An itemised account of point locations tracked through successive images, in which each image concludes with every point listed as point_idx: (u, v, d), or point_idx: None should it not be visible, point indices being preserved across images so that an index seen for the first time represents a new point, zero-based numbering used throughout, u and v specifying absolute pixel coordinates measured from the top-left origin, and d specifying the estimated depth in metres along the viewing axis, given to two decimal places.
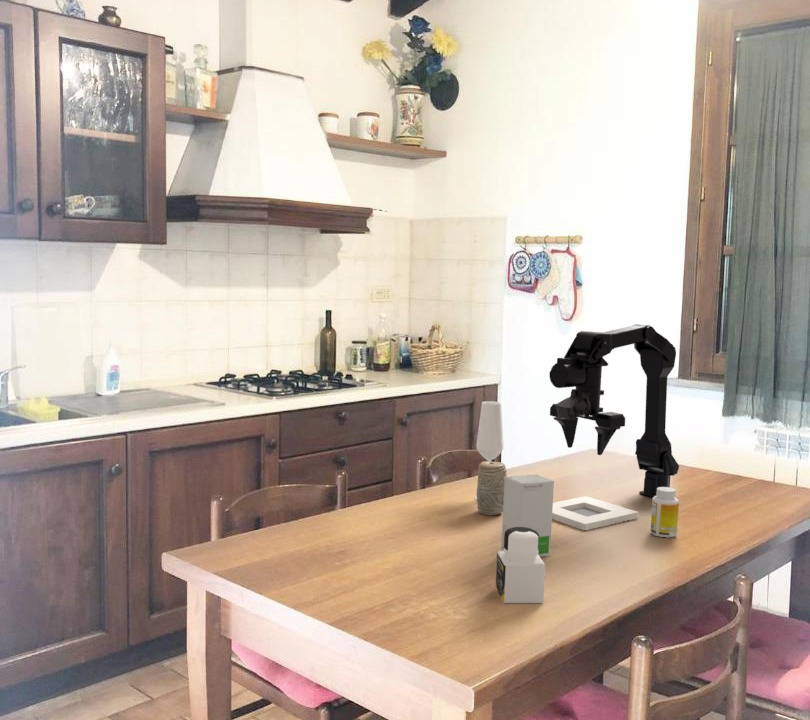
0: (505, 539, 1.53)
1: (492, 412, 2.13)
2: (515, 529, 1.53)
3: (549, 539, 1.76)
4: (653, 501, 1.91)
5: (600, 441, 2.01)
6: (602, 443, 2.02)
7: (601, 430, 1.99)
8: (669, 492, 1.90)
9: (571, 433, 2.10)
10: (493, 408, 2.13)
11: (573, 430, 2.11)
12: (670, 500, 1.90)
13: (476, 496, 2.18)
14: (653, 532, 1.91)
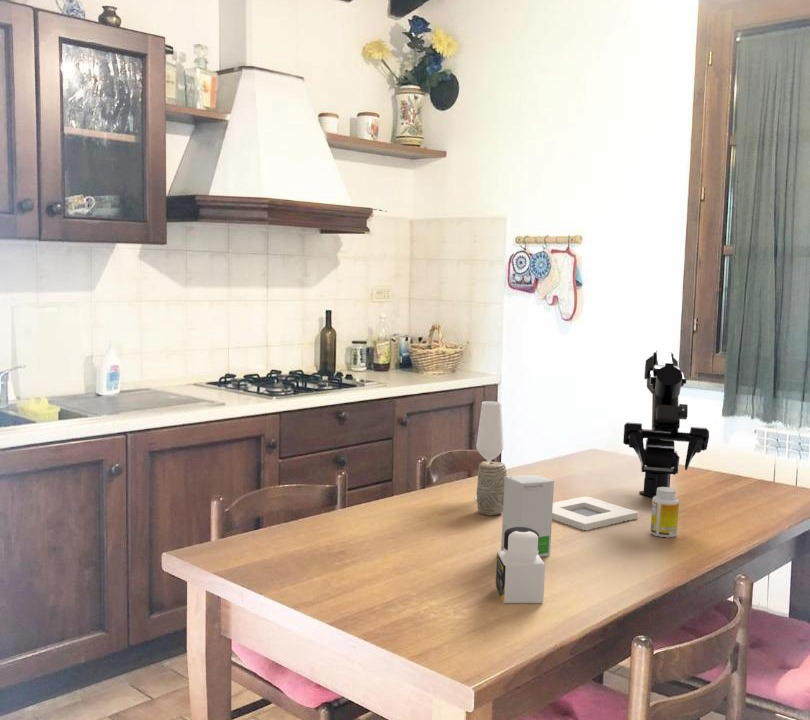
0: (505, 539, 1.53)
1: (492, 412, 2.13)
2: (515, 529, 1.53)
3: (549, 539, 1.76)
4: (653, 501, 1.91)
5: (691, 453, 1.98)
6: (691, 457, 1.98)
7: (697, 439, 1.98)
8: (669, 492, 1.90)
9: None
10: (493, 408, 2.13)
11: None
12: (670, 500, 1.90)
13: (476, 496, 2.18)
14: (653, 532, 1.91)
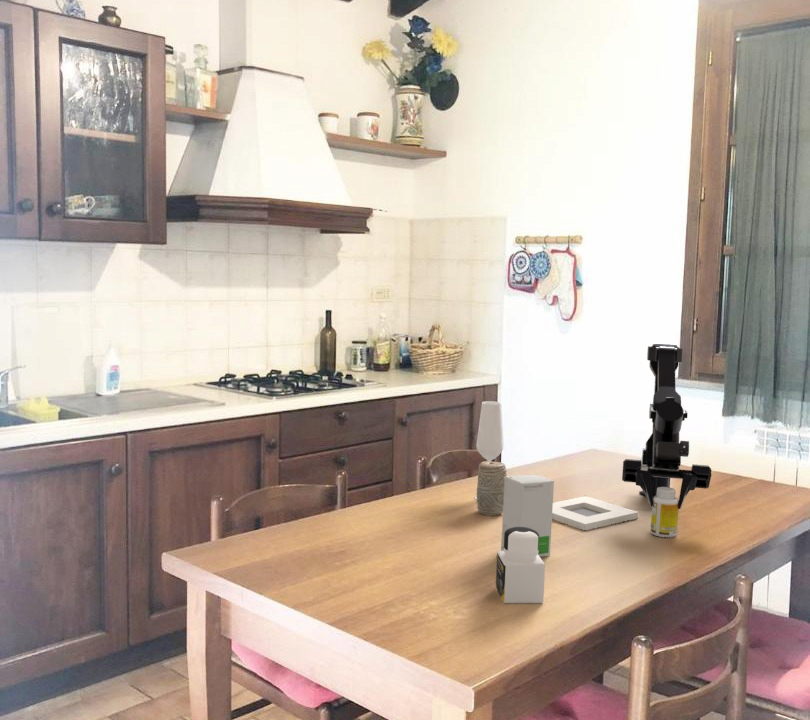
0: (505, 539, 1.53)
1: (492, 412, 2.13)
2: (515, 529, 1.53)
3: (549, 539, 1.76)
4: (653, 501, 1.91)
5: (684, 492, 1.91)
6: (684, 495, 1.91)
7: (691, 477, 1.91)
8: (669, 492, 1.89)
9: None
10: (493, 408, 2.13)
11: None
12: (670, 500, 1.90)
13: (476, 496, 2.18)
14: (653, 532, 1.91)
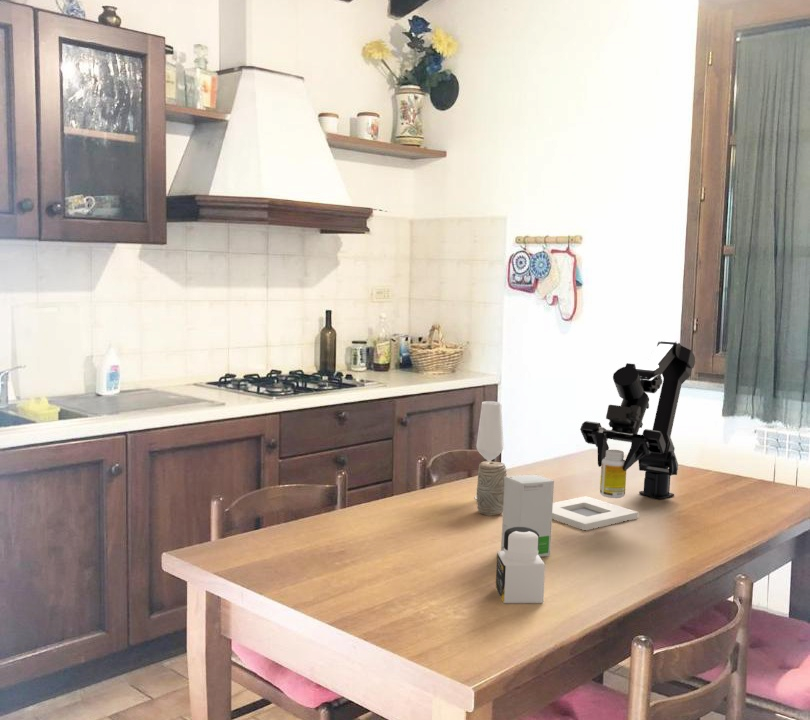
0: (505, 539, 1.53)
1: (492, 412, 2.13)
2: (515, 529, 1.53)
3: (549, 539, 1.76)
4: None
5: (631, 454, 1.96)
6: (632, 458, 1.96)
7: (639, 441, 1.96)
8: (614, 454, 1.96)
9: (603, 453, 2.01)
10: (493, 408, 2.13)
11: (605, 453, 2.02)
12: (614, 462, 1.96)
13: (476, 496, 2.18)
14: (600, 492, 1.99)
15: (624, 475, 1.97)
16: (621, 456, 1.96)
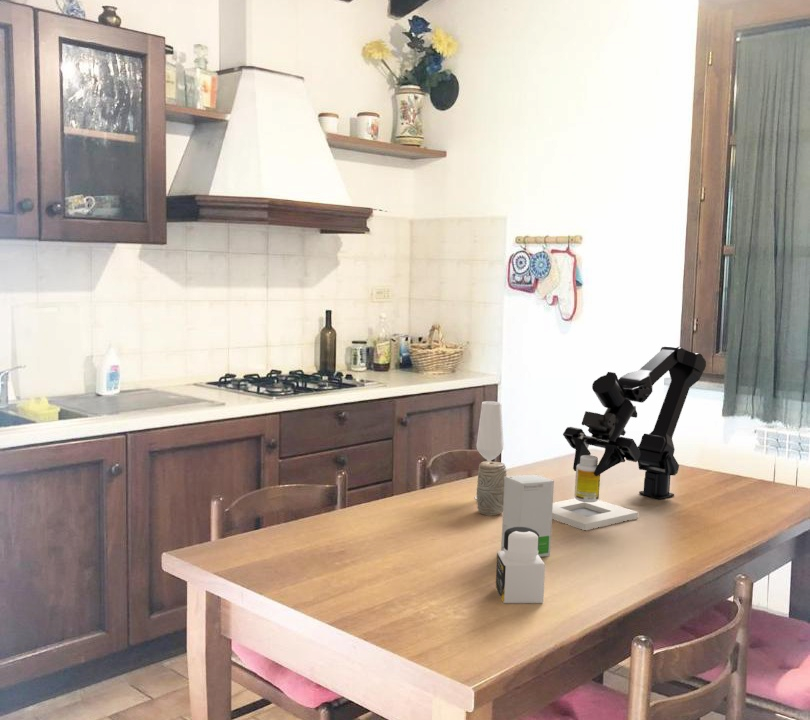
0: (505, 539, 1.53)
1: (492, 412, 2.13)
2: (515, 529, 1.53)
3: (549, 539, 1.76)
4: None
5: (603, 460, 2.01)
6: (604, 464, 2.01)
7: (611, 448, 2.01)
8: (586, 459, 2.02)
9: None
10: (493, 408, 2.13)
11: None
12: (586, 467, 2.02)
13: (476, 496, 2.18)
14: None
15: (596, 480, 2.02)
16: (593, 462, 2.02)
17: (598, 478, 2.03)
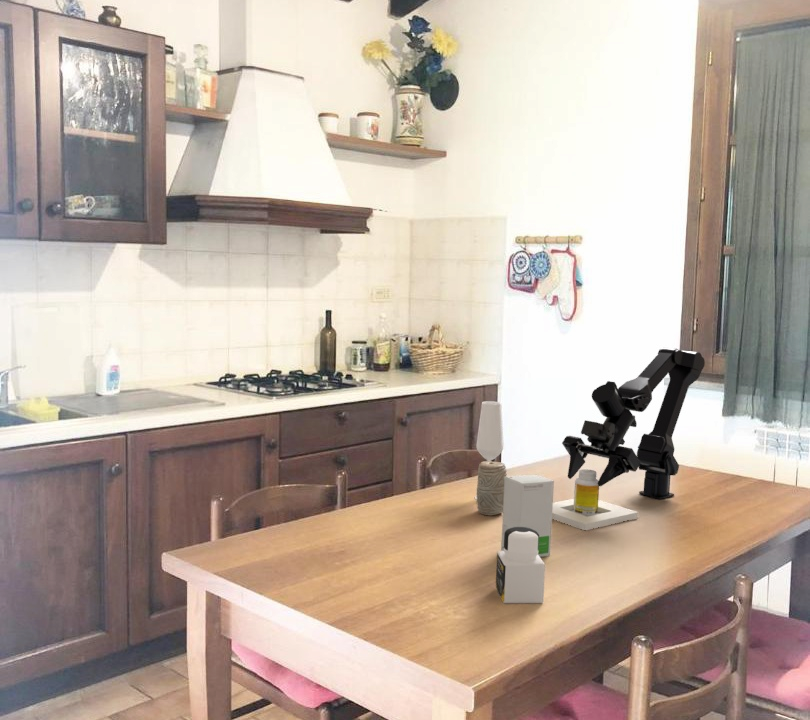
0: (505, 539, 1.53)
1: (492, 412, 2.13)
2: (515, 529, 1.53)
3: (549, 539, 1.76)
4: None
5: (607, 471, 2.00)
6: (607, 474, 2.01)
7: (615, 458, 2.00)
8: (585, 473, 2.03)
9: (576, 466, 2.08)
10: (493, 408, 2.13)
11: (578, 466, 2.09)
12: (585, 481, 2.03)
13: (476, 496, 2.18)
14: None
15: (595, 495, 2.03)
16: (592, 476, 2.03)
17: (597, 492, 2.03)
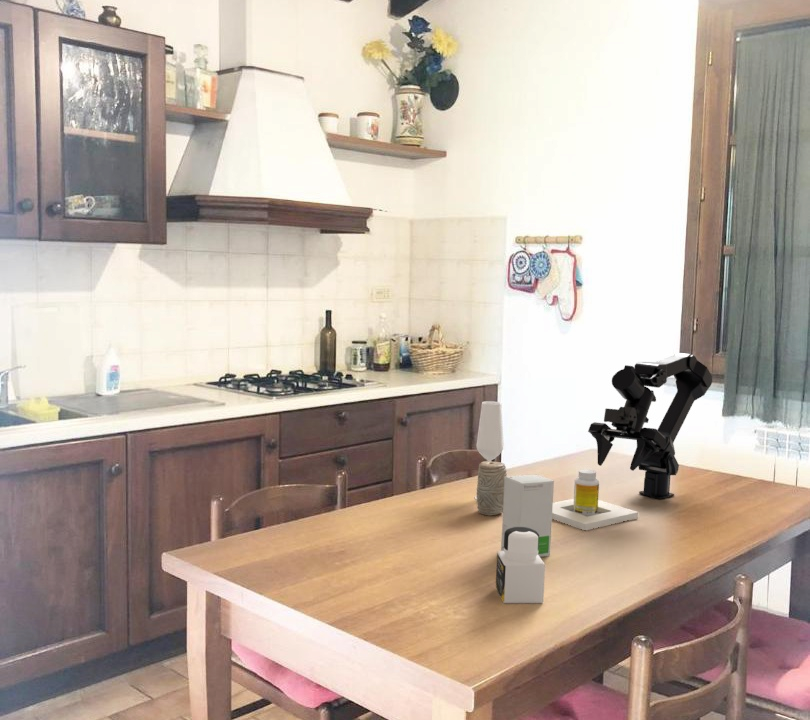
0: (505, 539, 1.53)
1: (492, 412, 2.13)
2: (515, 529, 1.53)
3: (549, 539, 1.76)
4: None
5: (637, 454, 2.05)
6: (638, 458, 2.05)
7: (643, 441, 2.04)
8: (584, 473, 2.03)
9: (604, 452, 2.13)
10: (493, 408, 2.13)
11: (606, 451, 2.14)
12: (584, 481, 2.03)
13: (476, 496, 2.18)
14: (573, 509, 2.06)
15: (594, 494, 2.03)
16: (592, 476, 2.03)
17: (596, 492, 2.03)
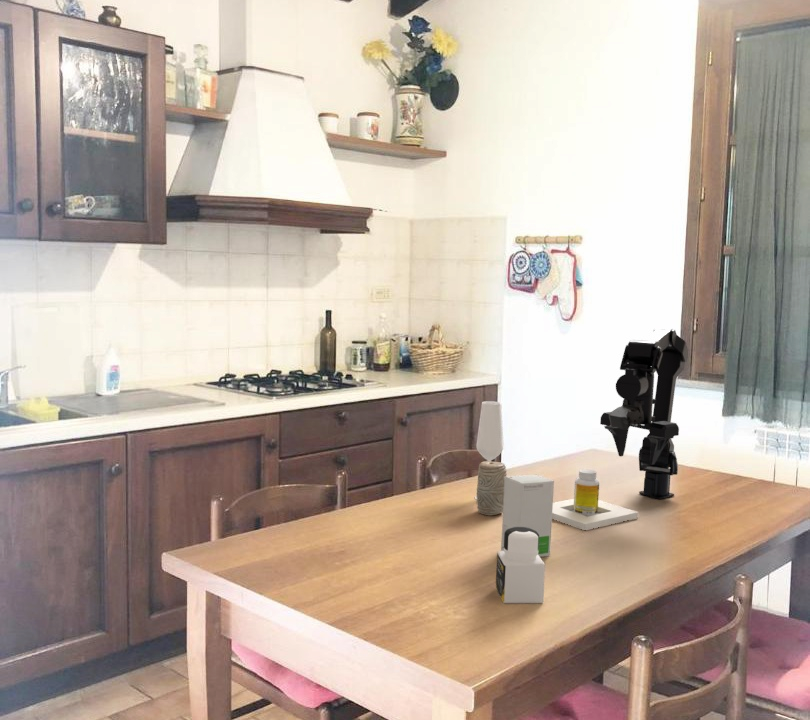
0: (505, 539, 1.53)
1: (492, 412, 2.13)
2: (515, 529, 1.53)
3: (549, 539, 1.76)
4: None
5: (653, 450, 2.01)
6: (655, 452, 2.01)
7: (655, 439, 1.99)
8: (584, 473, 2.03)
9: (622, 441, 2.10)
10: (493, 408, 2.13)
11: (624, 438, 2.10)
12: (585, 481, 2.03)
13: (476, 496, 2.18)
14: (573, 510, 2.06)
15: (595, 495, 2.03)
16: (592, 476, 2.03)
17: (597, 492, 2.03)
